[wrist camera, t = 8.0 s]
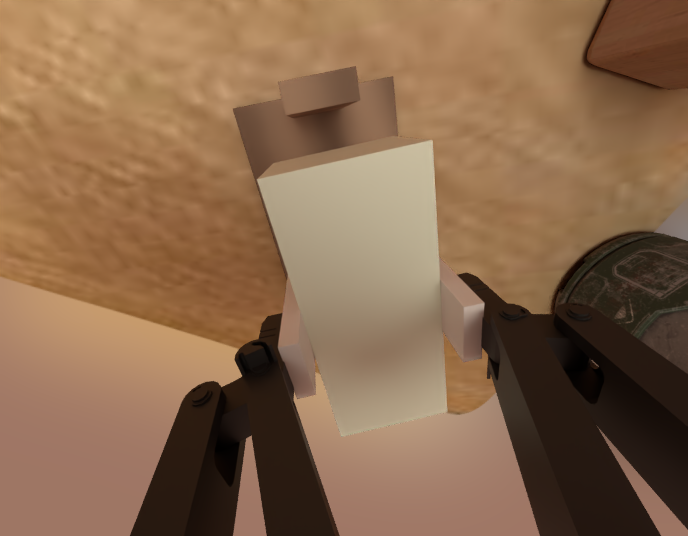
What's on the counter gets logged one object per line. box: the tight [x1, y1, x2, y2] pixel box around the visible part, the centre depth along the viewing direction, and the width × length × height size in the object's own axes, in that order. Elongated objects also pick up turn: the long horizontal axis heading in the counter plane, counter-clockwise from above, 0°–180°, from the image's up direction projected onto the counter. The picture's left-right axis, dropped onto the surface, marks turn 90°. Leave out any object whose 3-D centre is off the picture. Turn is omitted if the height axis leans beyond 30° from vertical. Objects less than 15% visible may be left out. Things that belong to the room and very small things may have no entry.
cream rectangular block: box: [257, 136, 447, 437], centre depth 15 cm, size 6×14×5 cm, turn 11°
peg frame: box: [233, 66, 398, 279], centre depth 23 cm, size 13×20×10 cm, turn 10°
